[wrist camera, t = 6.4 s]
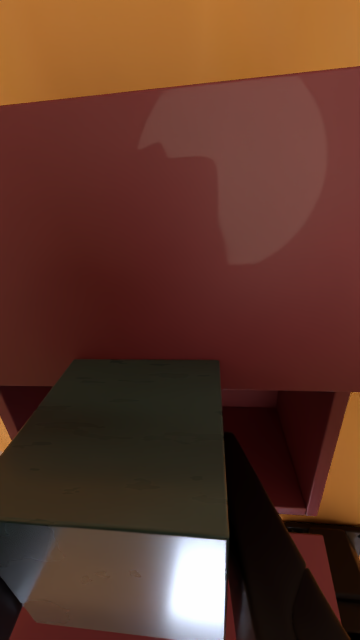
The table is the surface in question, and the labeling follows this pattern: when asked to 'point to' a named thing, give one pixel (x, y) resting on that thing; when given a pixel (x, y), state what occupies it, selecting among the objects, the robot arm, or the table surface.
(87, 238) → the dark red open box
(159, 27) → the table surface
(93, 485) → the block
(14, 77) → the table surface
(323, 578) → the flap
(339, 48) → the table surface
